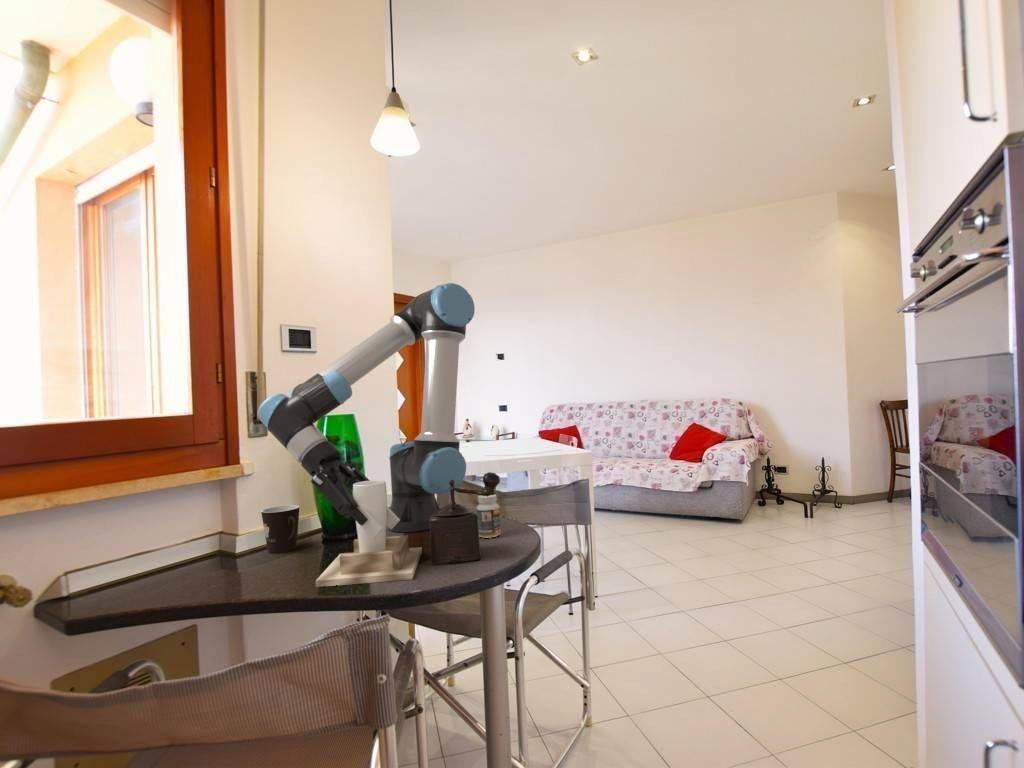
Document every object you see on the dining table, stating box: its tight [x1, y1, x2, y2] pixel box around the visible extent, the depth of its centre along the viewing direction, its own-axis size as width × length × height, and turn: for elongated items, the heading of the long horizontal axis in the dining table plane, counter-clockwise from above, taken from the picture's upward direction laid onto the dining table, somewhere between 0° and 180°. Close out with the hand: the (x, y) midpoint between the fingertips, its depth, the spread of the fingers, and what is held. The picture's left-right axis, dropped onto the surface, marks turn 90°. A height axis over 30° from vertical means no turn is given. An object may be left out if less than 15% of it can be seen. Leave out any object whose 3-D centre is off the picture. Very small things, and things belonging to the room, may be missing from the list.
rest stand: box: [315, 534, 423, 588], centre depth 109 cm, size 18×18×5 cm
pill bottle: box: [475, 494, 502, 538], centre depth 130 cm, size 6×6×10 cm
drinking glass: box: [352, 479, 388, 553], centre depth 109 cm, size 7×7×15 cm
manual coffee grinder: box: [429, 471, 501, 566], centre depth 115 cm, size 16×11×18 cm
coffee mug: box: [260, 504, 301, 555], centre depth 127 cm, size 12×9×10 cm
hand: (387, 528), depth 108 cm, fingers closed on drinking glass, 7 cm apart
